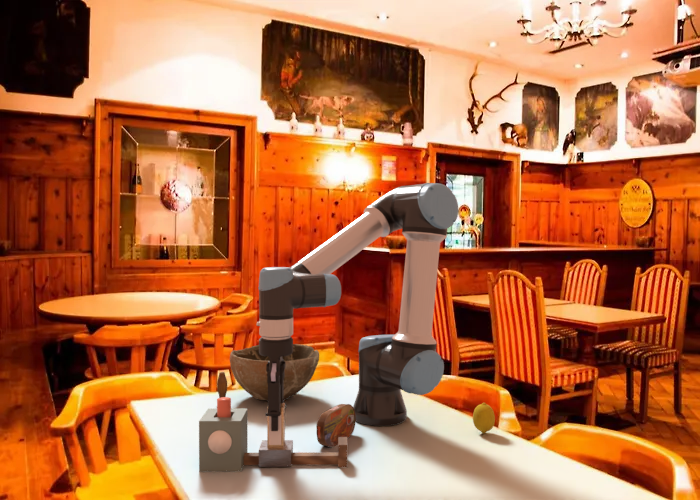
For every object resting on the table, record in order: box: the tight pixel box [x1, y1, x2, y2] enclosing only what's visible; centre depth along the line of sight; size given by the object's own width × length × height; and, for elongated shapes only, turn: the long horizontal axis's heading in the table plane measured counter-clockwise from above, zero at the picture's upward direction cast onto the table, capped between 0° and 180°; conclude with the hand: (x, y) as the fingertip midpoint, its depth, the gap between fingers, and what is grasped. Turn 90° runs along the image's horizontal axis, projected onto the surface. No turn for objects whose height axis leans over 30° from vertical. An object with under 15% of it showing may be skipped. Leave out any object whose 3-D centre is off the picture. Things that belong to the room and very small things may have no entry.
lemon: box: [472, 402, 496, 434], centre depth 152 cm, size 6×6×8 cm
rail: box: [243, 437, 348, 468], centre depth 132 cm, size 23×5×5 cm, turn 91°
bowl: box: [229, 343, 320, 402], centre depth 182 cm, size 28×27×15 cm
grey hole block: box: [198, 407, 248, 473], centre depth 131 cm, size 9×9×11 cm
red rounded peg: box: [216, 396, 232, 417], centre depth 131 cm, size 3×3×8 cm
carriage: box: [258, 402, 294, 468], centre depth 132 cm, size 7×6×13 cm
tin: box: [316, 403, 357, 448], centre depth 146 cm, size 15×3×8 cm, turn 149°
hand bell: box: [216, 371, 228, 398], centre depth 150 cm, size 8×8×16 cm
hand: (276, 440), depth 132 cm, fingers closed on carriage, 3 cm apart
